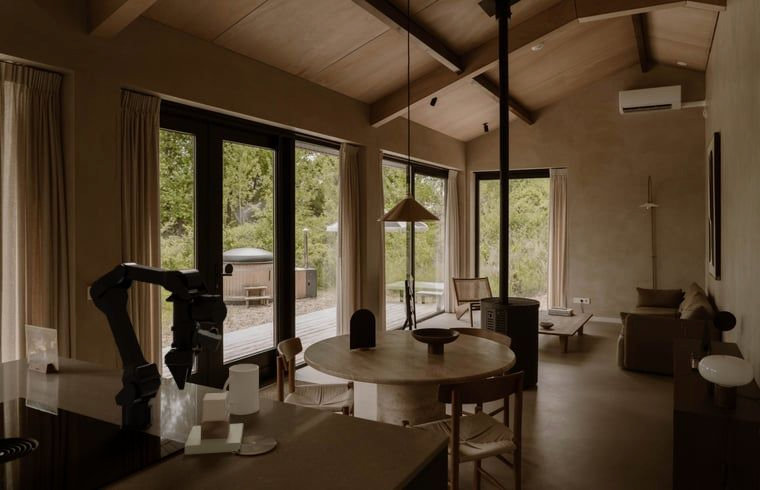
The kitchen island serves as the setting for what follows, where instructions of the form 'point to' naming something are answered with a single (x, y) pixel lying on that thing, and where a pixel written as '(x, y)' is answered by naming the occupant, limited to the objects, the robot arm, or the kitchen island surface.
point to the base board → (214, 441)
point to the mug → (243, 389)
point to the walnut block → (215, 428)
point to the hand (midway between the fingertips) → (184, 384)
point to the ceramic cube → (215, 407)
